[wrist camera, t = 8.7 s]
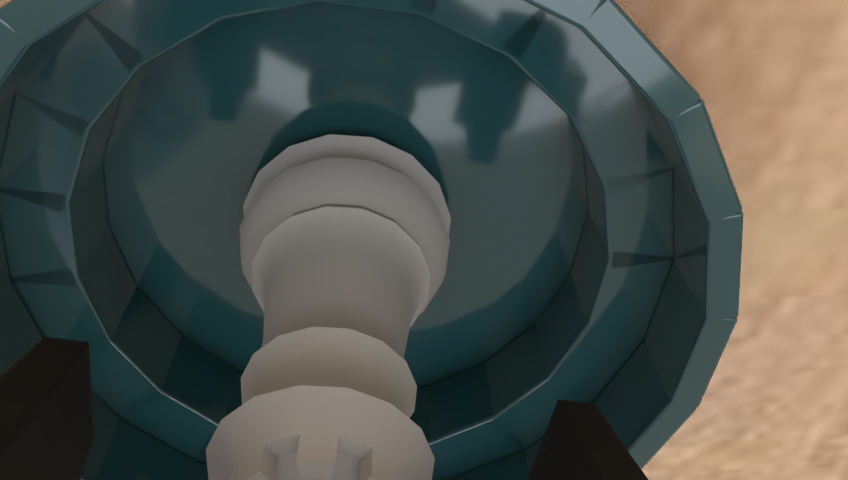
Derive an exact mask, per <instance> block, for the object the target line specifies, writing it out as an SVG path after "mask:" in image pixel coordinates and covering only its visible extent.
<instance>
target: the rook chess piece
mask: <svg viewBox="0 0 848 480" xmlns="http://www.w3.org/2000/svg"><path fill="white" fill-rule="evenodd" d="M243 212H244V218H243V221H242V223H241V225H240V227H239V233H240V254H241V266H242V271H243V274H244V276H245V278H246V280H247V281H248V283H249V285H250V287H251V289H252V291H253V293H254V295H255V297H256V299H257V300H258V302H259V304H260V306H261V308H262V310H263V312H264V331H263V342H262V347H261V349H259V350H258V351H257V352H255V353H254V354H253V355H252V357H251V359H250V361H249V363H248V365H247V367H246V369H245V371H244V373H243V374H242V376H241V396H242V405H241V406H240V407H239V408H237V409H236V410H234V411H233V412H231V413H230V414H229V415H227V416H226V417H224V418H223V419H221V421H220V423H219V425H218V427H217V429H216V431H215V433H214V434H213V436H212V438H211V440H210V442H209V444H208V446H207V448H206V457H207V468H208V479H209V480H432V475H433V468H434V460H435V458H434V456H433V453H432V451H431V449H430V447H429V445H428V442H427V440H426V438H425V436H424V433H423V431H422V429H421V428H420V427H419V426H418V425H417V424H415V423H414V422H413V421H412V420H411V419H409V418H410V417H411V416H412V414H413V413H414V410H415V401H416V392H417V385H416V383H415V380H414V378H413V376H412V374H411V371H410V369H409V367H408V364H407V362H406V361H405V360H404V354H405V349H406V344H407V339H408V334H409V329H410V327H411V326H412V325H413V323H414V322H415V320H416V319H417V317H418V316H419V315H420V314H421V313H422V312H424V310H425V309H426V307H427V306H428V304H429V303H430V301H431V300H432V298H433V296H434V295H435V293H436V292H437V290H438V289H439V287H440V286H441V284H442V282H443V279H444V277H445V275H446V268H447V260H448V252H449V244H450V239H449V230H450V222H451V216H450V213H449V210H448V208H447V205H446V202H445V199H444V196H443V193H442V190H441V187H440V184H439V183H438V182H437V181H436V180H435V179H434V178H433V177H432V176H431V174H430V173H429V172H428V171H427V170H426V169H425V168H424V167H423V166H422V165H421V164H420V163H419V162H418V161H417V160H416V159H415V158H414V157H413V156H412V155H411V154H409V153H407V152H404V151H402V150H400V149H398V148H396V147H393V146H391V145H389V144H387V143H385V142H382V141H380V140H378V139H376V138H374V137H363V136H348V135H334V134H328V135H325V136H322V137H318V138H315V139H312V140H308V141H305V142H302V143H299V144H295V145H292V146H289V147H287V148H286V149H285V150H284V151H283V152H281V153H280V154H279V155H278V156H277V157H275V158H274V159H273V160H272V161H271V162H269V163H268V164H267V165H266V166H265V167H263V168H262V169H261V170H260V171H259V172H258V174H257V176H256V178H255V180H254V182H253V184H252V187H251V189H250V191H249V193H248V195H247V198H246V200H245V202H244V204H243Z"/></svg>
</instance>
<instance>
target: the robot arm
mask: <svg viewBox="0 0 848 480" xmlns="http://www.w3.org/2000/svg"><path fill="white" fill-rule="evenodd" d="M93 440H94V434H93V414H92V394H91V374H90V354H89V342H85V341H77V340H68V339H60V338H52V337H45V338H43V339H42V340H40V341H39V342H38V343H37V344H35V345H34V346H33V347H32V348H31V349H30V350H29V351H27V352H26V353H25V354H24V355H23V356H22V357H21V358H19V359H18V360H17V361H16V362H15V363H14V364H13V365H11V366H10V367H9V368H8V369H7V370H6V371H5V372H4V373H2V374H1V375H0V480H80V479H81V476H82V474H83V471H84V468H85V464H86V461H87V458H88V455H89V452H90V449H91V446H92V443H93ZM527 480H648V479H647V477H646V476H645V474H644V473H643V472H642V470H641V469H640V467H639V466H638V464H637V463H636V462H635V460H634V459H633V457H632V456H631V455H630V453H629V452H628V450H627V449H626V447H625V446H624V445H623V443H622V442H621V440H620V439H619V437H618V436H617V434H616V433H615V432H614V430H613V429H612V427H611V426H610V424H609V423H608V422H607V420H606V419H605V417H604V416H603V414H602V413H601V412H600V410H599V409H598V407H597V406H596V405H595V404H594V403H586V402H577V401H569V400H561V399H558V401H557V403H556V406H555V409H554V411H553V414H552V416H551V419H550V422H549V424H548V427H547V430H546V432H545V435H544V437H543V440H542V443H541V445H540V448H539V450H538V453H537V456H536V458H535V461H534V463H533V466H532V469H531V471H530V474H529V476H528V479H527Z"/></svg>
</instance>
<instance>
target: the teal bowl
mask: <svg viewBox="0 0 848 480" xmlns="http://www.w3.org/2000/svg"><path fill="white" fill-rule="evenodd" d="M328 134H334V135H348V136H363V137H374V138H376V139H378V140H380V141H382V142H385V143H387V144H389V145H391V146H393V147H396V148H398V149H400V150H402V151H404V152H407V153H409V154H411V155H412V156H413V157H414V158H415V159H416V160H417V161H418V162H419V163H420V164H421V165H422V166H423V167H424V168H425V169H426V170H427V171H428V172H429V173H430V174H431V176H432V177H433V178H434V179H435V180H436V181H437V182H438V183H439V184H440V187H441V190H442V193H443V196H444V199H445V202H446V205H447V208H448V210H449V213H450V216H451V222H450V230H449V239H450V244H449V252H448V260H447V268H446V275H445V277H444V279H443V282H442V284H441V286H440V287H439V289H438V290H437V292H436V293H435V295H434V296H433V298H432V300H431V301H430V303H429V304H428V306H427V307H426V309H425V310H424V312H422V313H421V314H420V315H419V316H418V317H417V319H416V320H415V322H414V323H413V325H412V326H411V327H410V329H409V334H408V339H407V344H406V349H405V354H404V360H405V361H406V362H407V364H408V367H409V369H410V371H411V374H412V376H413V378H414V380H415V383H416V385H417V392H416V401H415V410H414V413H413V414H412V416H411V417H410V418H409V419H411V420H412V421H413V422H414V423H415V424H417V425H418V426H419V427H420V428H421V429H422V431H423V433H424V436H425V438H426V440H427V442H428V445H429V447H430V449H431V451H432V453H433V456H434V458H435V460H434V468H433V475H432V480H527V479H528V476H529V474H530V471H531V469H532V466H533V463H534V461H535V458H536V456H537V453H538V450H539V448H540V445H541V443H542V440H543V437H544V435H545V432H546V430H547V427H548V424H549V422H550V419H551V416H552V414H553V411H554V409H555V406H556V403H557V401H558V399H561V400H569V401H577V402H586V403H594V404H595V405H596V406H597V407H598V409H599V410H600V412H601V413H602V414H603V416H604V417H605V419H606V420H607V422H608V423H609V424H610V426H611V427H612V429H613V430H614V432H615V433H616V434H617V436H618V437H619V439H620V440H621V442H622V443H623V445H624V446H625V447H626V449H627V450H628V452H629V453H630V455H631V456H632V457H633V459H634V460H635V462H636V463H637V464H638V466H639V467H640V469H642V468H643V467H644V466H645V465H646V464H647V463H648V462H649V461H650V460H651V458H652V457H653V456H654V455H655V454H656V453H657V452H658V451H659V450H660V449H661V447H662V446H663V445H664V444H665V443H666V442H667V441H668V440H669V439H670V438H671V437H672V435H673V434H674V433H675V432H676V431H677V430H678V429H679V428H680V427H681V426H682V424H683V423H684V422H685V421H686V420H687V419H688V418H689V417H690V416H691V415H692V414H693V412H694V411H695V410H696V407H698V406H699V404H700V402H701V400H702V397H703V395H704V393H705V391H706V388H707V386H708V384H709V382H710V380H711V377H712V375H713V373H714V371H715V368H716V366H717V364H718V362H719V359H720V357H721V355H722V353H723V351H724V348H725V346H726V344H727V342H728V339H729V337H730V335H731V333H732V330H733V328H734V326H735V324H736V322H737V316H738V308H739V288H740V268H741V249H742V229H743V212H742V205H741V202H740V200H739V197H738V194H737V191H736V189H735V186H734V183H733V180H732V178H731V175H730V172H729V169H728V166H727V164H726V161H725V158H724V155H723V153H722V150H721V147H720V144H719V142H718V139H717V136H716V133H715V131H714V128H713V125H712V122H711V119H710V117H709V114H708V111H707V108H706V106H705V103H704V101H703V100H702V98H701V97H700V94H699V93H698V92H697V90H696V89H695V88H694V87H693V86H692V84H691V83H690V82H689V81H688V80H687V79H686V77H685V76H684V75H683V74H682V73H681V71H680V70H679V69H678V68H677V67H676V66H675V64H674V63H673V62H672V61H671V60H670V59H669V57H668V56H667V55H666V54H665V53H664V52H663V50H662V49H661V48H660V47H659V46H658V44H657V43H656V42H655V41H654V40H653V38H652V37H651V36H650V35H649V34H648V33H647V31H646V30H645V29H644V28H643V27H642V25H641V24H640V23H639V22H638V21H637V20H636V18H635V17H634V16H633V15H632V14H631V13H630V12H629V11H628V10H627V8H626V7H625V6H624V5H623V4H622V3H621V2H620V1H619V0H11V1H9V2H8V3H6V4H5V5H3V6H2V7H0V375H1V374H2V373H4V372H5V371H6V370H7V369H8V368H9V367H10V366H11V365H13V364H14V363H15V362H16V361H17V360H18V359H19V358H21V357H22V356H23V355H24V354H25V353H26V352H27V351H29V350H30V349H31V348H32V347H33V346H34V345H35V344H37V343H38V342H39V341H40V340H42V339H43V338H45V337H52V338H60V339H68V340H77V341H85V342H89V354H90V374H91V394H92V414H93V434H94V440H93V443H92V446H91V449H90V452H89V455H88V458H87V461H86V464H85V468H84V471H83V474H82V476H81V479H80V480H209V479H208V468H207V457H206V448H207V446H208V444H209V442H210V440H211V438H212V436H213V434H214V433H215V431H216V429H217V427H218V425H219V423H220V421H221V419H223V418H224V417H226V416H227V415H229V414H230V413H231V412H233V411H234V410H236V409H237V408H239V407H240V406H241V405H242V396H241V376H242V374H243V373H244V371H245V369H246V367H247V365H248V363H249V361H250V359H251V357H252V355H253V354H254V353H255V352H257V351H258V350H259V349H261V347H262V342H263V331H264V312H263V310H262V308H261V306H260V304H259V302H258V300H257V299H256V297H255V295H254V293H253V291H252V289H251V287H250V285H249V283H248V281H247V280H246V278H245V276H244V274H243V271H242V266H241V254H240V233H239V227H240V225H241V223H242V221H243V218H244V212H243V204H244V202H245V200H246V198H247V195H248V193H249V191H250V189H251V187H252V184H253V182H254V180H255V178H256V176H257V174H258V172H259V171H260V170H261V169H262V168H263V167H265V166H266V165H267V164H268V163H269V162H271V161H272V160H273V159H274V158H275V157H277V156H278V155H279V154H280V153H281V152H283V151H284V150H285V149H286V148H287V147H289V146H292V145H295V144H299V143H302V142H305V141H308V140H312V139H315V138H318V137H322V136H325V135H328Z"/></svg>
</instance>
